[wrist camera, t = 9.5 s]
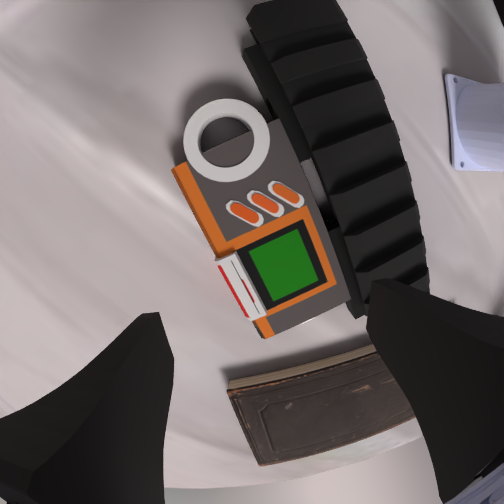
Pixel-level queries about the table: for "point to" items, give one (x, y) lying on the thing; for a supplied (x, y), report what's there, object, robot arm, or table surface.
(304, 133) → the rail mount
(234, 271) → the electronic device
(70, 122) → the table surface
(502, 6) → the battery
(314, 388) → the hardcover book
